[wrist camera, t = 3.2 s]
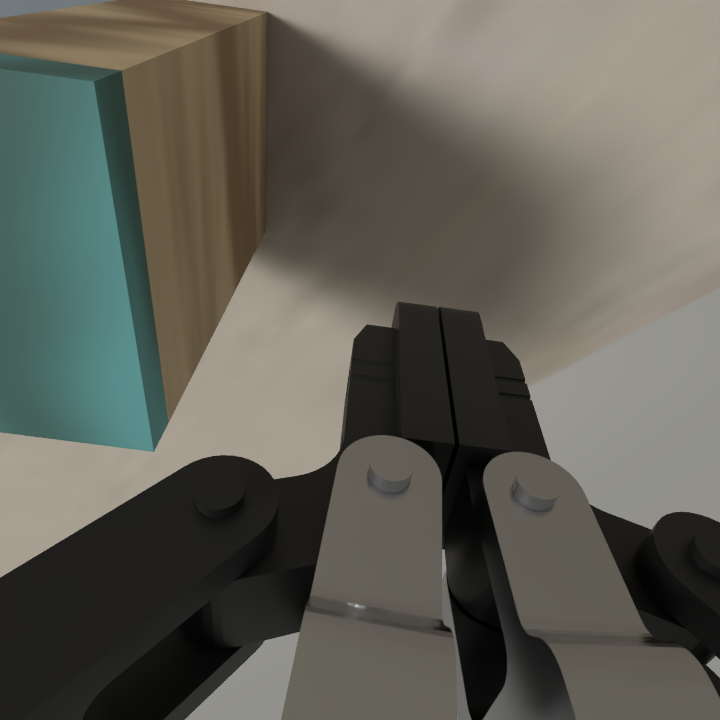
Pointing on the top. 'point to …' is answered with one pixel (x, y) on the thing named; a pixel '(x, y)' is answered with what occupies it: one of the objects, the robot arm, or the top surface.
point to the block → (123, 207)
